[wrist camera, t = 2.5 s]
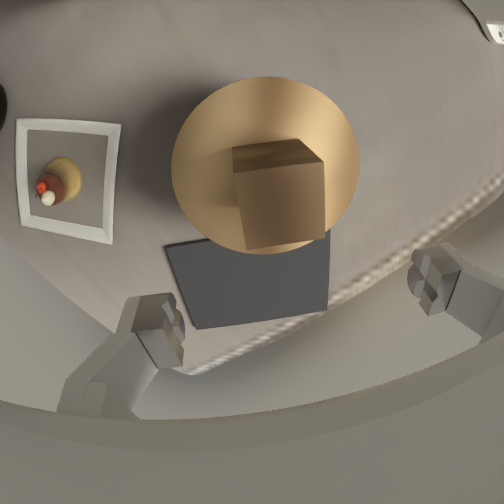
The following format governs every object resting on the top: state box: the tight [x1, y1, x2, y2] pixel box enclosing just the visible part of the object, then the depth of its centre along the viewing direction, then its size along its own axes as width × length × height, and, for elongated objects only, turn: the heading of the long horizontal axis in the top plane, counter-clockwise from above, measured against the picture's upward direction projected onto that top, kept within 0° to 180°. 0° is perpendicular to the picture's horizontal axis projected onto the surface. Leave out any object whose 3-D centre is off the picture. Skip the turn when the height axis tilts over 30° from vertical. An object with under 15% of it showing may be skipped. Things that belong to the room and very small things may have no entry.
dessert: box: [15, 118, 121, 245], centre depth 21 cm, size 12×12×5 cm
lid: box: [171, 77, 360, 254], centre depth 16 cm, size 12×12×6 cm
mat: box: [166, 229, 330, 330], centre depth 31 cm, size 16×12×1 cm
